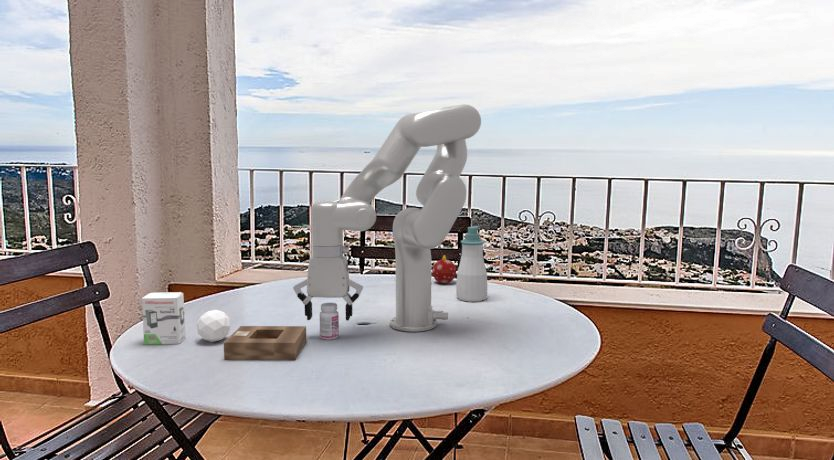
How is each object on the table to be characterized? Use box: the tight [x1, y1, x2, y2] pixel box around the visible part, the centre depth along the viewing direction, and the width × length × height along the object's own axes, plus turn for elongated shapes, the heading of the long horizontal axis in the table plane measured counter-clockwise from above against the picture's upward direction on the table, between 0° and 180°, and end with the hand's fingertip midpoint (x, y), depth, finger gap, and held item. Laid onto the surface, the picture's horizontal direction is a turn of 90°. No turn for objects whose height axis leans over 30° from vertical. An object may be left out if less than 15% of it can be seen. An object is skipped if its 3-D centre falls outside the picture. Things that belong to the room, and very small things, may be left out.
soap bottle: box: [455, 225, 488, 303], centre depth 178 cm, size 10×10×23 cm
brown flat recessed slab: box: [223, 325, 307, 361], centre depth 132 cm, size 16×12×4 cm
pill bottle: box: [319, 302, 340, 340], centre depth 141 cm, size 5×5×8 cm
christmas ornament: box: [431, 254, 457, 284], centre depth 199 cm, size 9×9×10 cm
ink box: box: [141, 291, 186, 345], centre depth 138 cm, size 9×5×12 cm, turn 94°
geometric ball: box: [196, 309, 232, 343], centre depth 139 cm, size 8×8×8 cm
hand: (328, 318), depth 141 cm, fingers open, 9 cm apart
